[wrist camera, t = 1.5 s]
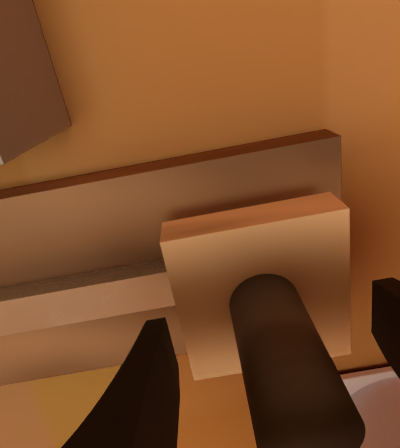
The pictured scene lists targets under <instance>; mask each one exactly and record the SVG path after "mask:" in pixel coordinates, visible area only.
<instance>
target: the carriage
mask: <svg viewBox="0 0 400 448" xmlns="http://www.w3.org/2000/svg"><path fill="white" fill-rule="evenodd" d="M160 246H161V250H162V254H163V258H164V262H165V266H166V270H167V274H168V278H169V282H170V286H171V290H172V294H173V298H174V302H175V306H176V310H177V314H178V318H179V322H180V326H181V330H182V334H183V338H184V342H185V346H186V350H187V354H188V358H189V362H190V366H191V370H192V374H193V378H194V381H196V380H202V379H208V378H214V377H220V376H226V375H231V374H237V373H242V374H243V379H244V384H245V389H246V394H247V399H248V404H249V409H250V414H251V419H252V424H253V430H254V435H255V440H256V445H257V448H360V447H361V445H362V443H363V441H364V438H365V432H366V430H365V424H364V421H363V419H362V417H361V415H360V414H359V412H358V410H357V408H356V406H355V404H354V402H353V400H352V398H351V396H350V394H349V392H348V390H347V388H346V386H345V384H344V382H343V380H342V378H341V376H340V374H339V372H338V370H337V368H336V366H335V365H334V363H333V361H332V359H331V357H337V356H343V355H349V354H351V308H350V208H349V207H347V206H346V205H345V204H344V203H343V202H342V201H340V200H339V199H338V198H337V197H336V196H335V195H333V194H332V193H331V192H326V193H320V194H315V195H310V196H304V197H299V198H293V199H288V200H282V201H277V202H271V203H266V204H260V205H255V206H249V207H244V208H238V209H233V210H227V211H222V212H216V213H211V214H205V215H200V216H194V217H189V218H183V219H178V220H172V221H167V222H162V228H161V236H160Z"/></svg>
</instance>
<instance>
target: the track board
mask: <svg viewBox="0 0 400 448" xmlns="http://www.w3.org/2000/svg"><path fill="white" fill-rule="evenodd" d="M326 192H331V193H332V194H333V195H335V196H336V197H337V198H338V199H339V200H340V201H342V181H341V136H340V135H337V134H335V133H333V132H331V131H329V130H326V129H325V130H319V131H314V132H309V133H303V134H298V135H293V136H287V137H282V138H277V139H271V140H266V141H261V142H255V143H250V144H245V145H239V146H234V147H229V148H223V149H218V150H213V151H207V152H202V153H197V154H191V155H186V156H181V157H175V158H170V159H165V160H159V161H154V162H149V163H143V164H138V165H132V166H127V167H122V168H116V169H111V170H106V171H100V172H95V173H90V174H84V175H79V176H74V177H68V178H63V179H58V180H52V181H47V182H42V183H36V184H31V185H26V186H20V187H15V188H10V189H4V190H0V287H3V286H9V285H14V284H20V283H25V282H31V281H36V280H42V279H48V278H53V277H59V276H64V275H70V274H75V273H81V272H87V271H92V270H98V269H103V268H109V267H114V266H120V265H126V264H131V263H137V262H142V261H148V260H153V259H159V258H163V254H162V250H161V246H160V236H161V228H162V222H167V221H172V220H178V219H183V218H189V217H194V216H200V215H205V214H211V213H216V212H222V211H227V210H233V209H238V208H244V207H249V206H255V205H260V204H266V203H271V202H277V201H282V200H288V199H293V198H299V197H304V196H310V195H315V194H320V193H326ZM163 317H166V321H167V325H168V328H169V332H170V336H171V340H172V343H173V347H174V351H175V355H182V354H187V350H186V346H185V342H184V338H183V334H182V330H181V326H180V322H179V318H178V314H177V310H176V306H175V305H174V306H169V307H163V308H157V309H152V310H146V311H140V312H135V313H129V314H123V315H118V316H112V317H106V318H101V319H95V320H89V321H83V322H78V323H72V324H66V325H61V326H55V327H49V328H44V329H38V330H32V331H27V332H21V333H15V334H10V335H4V336H0V386H2V385H8V384H13V383H19V382H25V381H31V380H37V379H42V378H48V377H54V376H60V375H66V374H72V373H77V372H83V371H89V370H95V369H101V368H106V367H112V366H118V365H122V364H123V362H124V360H125V359H126V357H127V355H128V353H129V352H130V350H131V348H132V346H133V344H134V342H135V341H136V339H137V337H138V335H139V333H140V331H141V329H142V327H143V325H144V323H145V322H146V321H147V320H152V319H158V318H163Z"/></svg>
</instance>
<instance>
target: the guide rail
mask: <svg viewBox="0 0 400 448" xmlns="http://www.w3.org/2000/svg"><path fill="white" fill-rule="evenodd" d="M174 305H175V302H174V298H173V294H172V290H171V286H170V282H169V278H168V274H167V270H166V266H165V262H164V258H159V259H153V260H148V261H142V262H137V263H131V264H126V265H120V266H114V267H109V268H103V269H98V270H92V271H87V272H81V273H75V274H70V275H64V276H59V277H53V278H48V279H42V280H36V281H31V282H25V283H20V284H14V285H9V286H3V287H0V336H4V335H10V334H15V333H21V332H27V331H32V330H38V329H44V328H49V327H55V326H61V325H66V324H72V323H78V322H83V321H89V320H95V319H101V318H106V317H112V316H118V315H123V314H129V313H135V312H140V311H146V310H152V309H157V308H163V307H169V306H174Z"/></svg>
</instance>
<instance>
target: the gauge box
mask: <svg viewBox="0 0 400 448" xmlns="http://www.w3.org/2000/svg"><path fill="white" fill-rule="evenodd" d="M70 126H72V125H71V122H70V119H69V116H68V113H67V109H66V106H65V103H64V100H63V97H62V93H61V90H60V87H59V84H58V81H57V78H56V74H55V71H54V68H53V65H52V62H51V58H50V55H49V52H48V49H47V46H46V43H45V39H44V36H43V33H42V30H41V27H40V24H39V20H38V17H37V14H36V11H35V8H34V4H33V1H32V0H0V165H1V164H5V163H6V162H8V161H10V160H12V159H14V158H15V157H17V156H19V155H21V154H22V153H24V152H26V151H28V150H29V149H31V148H33V147H35V146H36V145H38V144H40V143H42V142H43V141H45V140H47V139H49V138H51V137H52V136H54V135H56V134H58V133H59V132H61V131H63V130H65V129H66V128H68V127H70Z"/></svg>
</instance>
